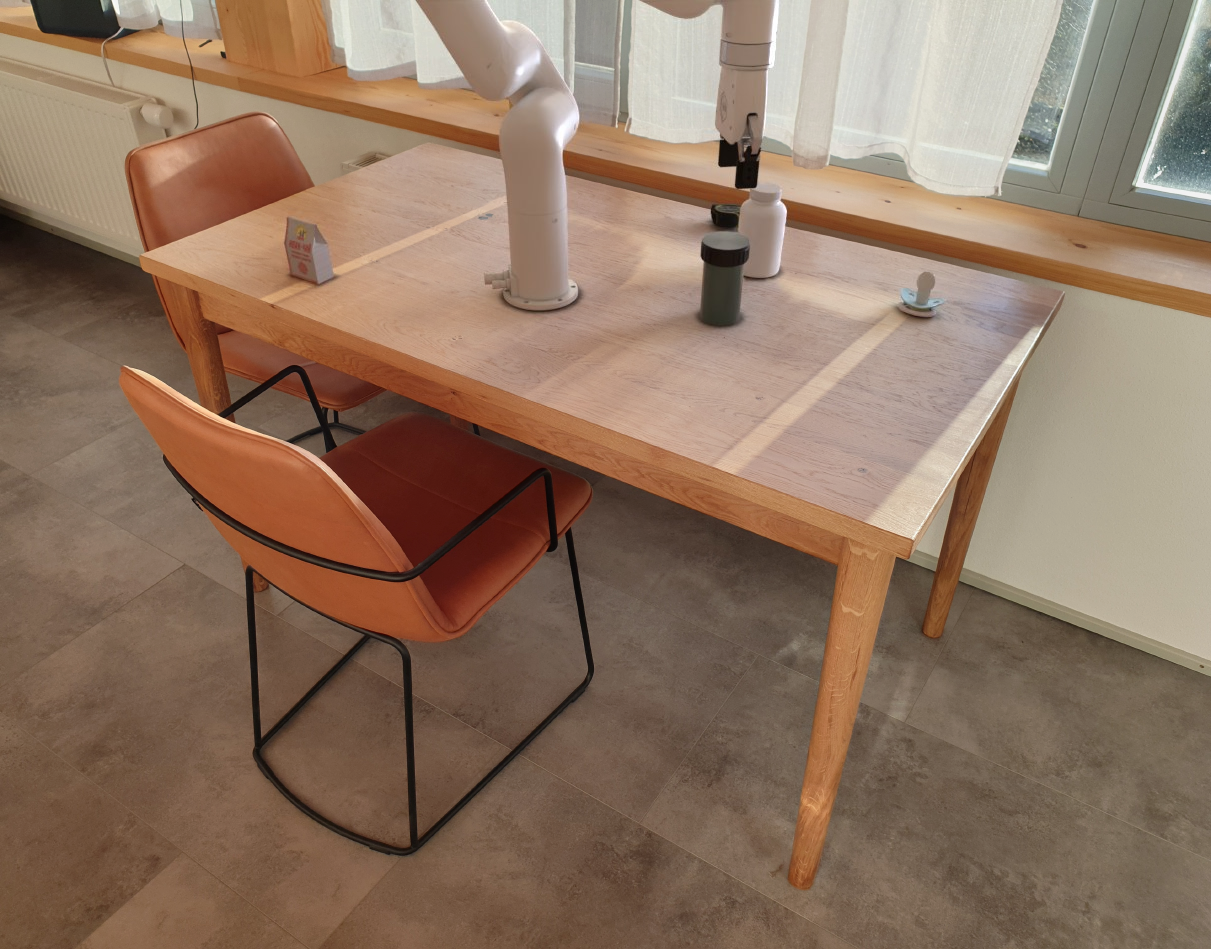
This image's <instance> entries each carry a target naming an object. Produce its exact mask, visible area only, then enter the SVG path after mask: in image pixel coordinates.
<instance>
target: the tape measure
mask: <svg viewBox="0 0 1211 949" xmlns="http://www.w3.org/2000/svg"><path fill="white" fill-rule="evenodd" d="M741 206H742V204H738V203H737V204H735V203H713V204H711V207H710V217H711V220H712V224H713V225H714V226H716V227H717V228H721V229H726V230H735V229H738V227H739V217H740V209H741Z"/></svg>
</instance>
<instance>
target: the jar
mask: <svg viewBox="0 0 1211 949" xmlns="http://www.w3.org/2000/svg"><path fill="white" fill-rule="evenodd" d="M744 265H745V264H743V265H740V266H735V267H718V266H713V265H710V264H708V263H706V262H704V261H703V263H702V277H701V278H702V279H701V292H700V306H699V318H700V320H701V321H702V322H704V323H705V324H708V325H711V326H718V327H727V326H731V325H734V324H736V323H738V322H739V320H740V314H741V306H742V295H743V286H744V276H745V275H744Z"/></svg>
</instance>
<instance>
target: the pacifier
mask: <svg viewBox="0 0 1211 949" xmlns="http://www.w3.org/2000/svg"><path fill="white" fill-rule="evenodd" d="M936 282H937V279H936V276H935V274H933V272H930V271H924V272H922V273H920V274H919V275H918V277H917V279H916V287H917V292H916V291H914V290H912V289H910V288H907V287H903V288H901V290H900V298H901V300H902V301H899V302H898V303H897V305H896V306H897V308H898V309H899V310H900V311H902V312H904V313H906V314H908V315H912V316H916V317H921V318H930V317H934V316H936V315H937V311H936V310H935V308H936V307H940V306H942V305H943V304H944V303H946V301H947V299H946V298H930V297H931V292H932V290H933V289H934V288H935V286H936ZM906 306H908V307H906Z"/></svg>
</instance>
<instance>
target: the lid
mask: <svg viewBox="0 0 1211 949" xmlns="http://www.w3.org/2000/svg"><path fill="white" fill-rule="evenodd" d="M749 251H750V240H749V239H748V238H747V237H746V236H744V235H741V234H738V232H734V231H714V232H709V233H707V234H704V235H703V236H702V238H701V243H700V259H701V260H702V261H703V262H706V263H708V264H710V265H713V266H718V267H735V266H740V265H743V264H745V263H746V262H747V261H748V259H749Z"/></svg>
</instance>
